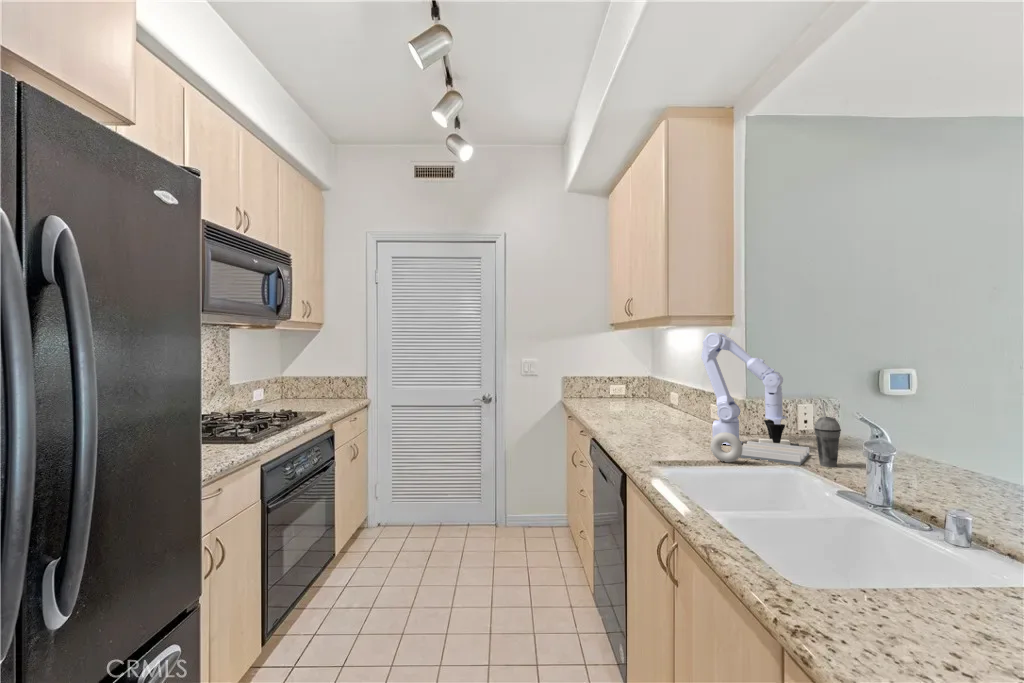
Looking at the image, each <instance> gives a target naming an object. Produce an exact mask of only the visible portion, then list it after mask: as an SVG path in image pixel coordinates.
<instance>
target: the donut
mask: <svg viewBox="0 0 1024 683" xmlns="http://www.w3.org/2000/svg"><path fill="white" fill-rule="evenodd" d="M740 441H741V440H740V438H739V439H738V438H737V437H736V436H735V435H733V434H731V433H727V432H723V433H719V434H717V435H715V436H714V437H713V436H712V438H711V441H710V445H709V446H710V451H711V453H712V455H713V457H715V458H716V459H717V460H719V461H720V460H721V462H723V461H725V462H724V463H733V462H736V461H738V459H741V458H740V456H741V454H742V450H743V448H742V446H743V443H741V442H742V441H741V442H740ZM724 442H727V443H729V444H730V445H729V446H731V449H730V451H727V452H726V451H724V450H723V449H722V445H723V444H722V443H724Z"/></svg>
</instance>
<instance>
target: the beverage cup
mask: <svg viewBox="0 0 1024 683" xmlns="http://www.w3.org/2000/svg"><path fill="white" fill-rule="evenodd" d="M821 406H822V407H821V408H822V413H823V416H821V417H820V418H818V420H816V422H815V424H814V428H813V430H814V434H815V437H816V444H817V454H818V460H819V465H820V466H821V467H826V468H837V467H838V466H837V465H838V459H839V458H838V456H839V446H840V443H839V442H840V438H841V432H842V429H841V424H840V423H839V422H838V420H836V419H835V418H833V417H830V416H826V411H825V403H824V402H821Z"/></svg>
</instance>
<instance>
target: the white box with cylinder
mask: <svg viewBox="0 0 1024 683" xmlns="http://www.w3.org/2000/svg"><path fill="white" fill-rule="evenodd" d="M758 442H762V443H772V444H781V445H791V446H800V444H799V443H796V442H793V443H791V441H790V440H789V439H782V438H781V441H780V443H773V440H772V439H770V438H758Z"/></svg>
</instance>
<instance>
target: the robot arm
mask: <svg viewBox="0 0 1024 683" xmlns="http://www.w3.org/2000/svg"><path fill="white" fill-rule="evenodd" d="M722 350H724V351H729V352H731V353H732V354H733V356H734V355H735V356H736V357H737V358H738V359H740V360H741V361H743V363H745V364H746V369H747V370H748V371H749V372H751V374H752V375H754V376H755V377H757V379H759V380H760V381H761V382H762V384H763V386H764V408H765V410H764V412H765V415H764V418H765V419H764V420H763V422H764V424H765V426H766V429H767V433H768V439H772V440H773V443H780V441H781V439H782V435H783V432H784V429H785V428H786V424H785V423H782V424H781V422H782V420H785V419H787V416H784V411H783V391H782V390H783V388H782V384H783V382H784V377H783V376H782V374H780V372H779V371H775V368H773V367H770V366H769V365H768V364H766V363H765V360H764V359H763V358H759V357H752V355H750V353H748V352H747V351H746V350H745V349H744V348H742V347H741V346H740V345H739V344H738V343H737V342H735V341H734V339H732V338H731V337H729V336H727V335H726V334H724V333H722V332H718V333H717V332H710V333H708V334H707V335H706V336H705V337H704V339H703V340H702V350H701V356H700V357H701V360H702V363H703V366H704V368H705V371H706V373H707V377H708V379H709V381H710V384H711V387H712V390H713V393H714V396H715V397H716V408H717V411H716V413H717V417H718V418H719V419H718V420H717V419H715V420H713V422H712V429H711V430H712V438H713V437H714V436H715V435H717V434H719V433H723V432H727V433H731V434H733V435H735V436H736V437H737V438H738V439H739V440H740V419H739V418H738V417H739V416H740V414H741V408H740V406H739V405H738V404H737V403H736V401H735V399H734V398H733V396H731V394H730V392H729V388H728V386H727V384H726V381H725V378H724V376H723V373H722V371H721V367H720V365H719V363H718V359H717V357H718V355H719V353H720V352H721V351H722ZM740 442H741V443H742V444H744V443H743V441H742V440H740ZM723 444H726V445H727V446H731V445H730V444H729V443H727V442H724V443H722V445H723ZM726 445H725V446H726Z"/></svg>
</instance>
